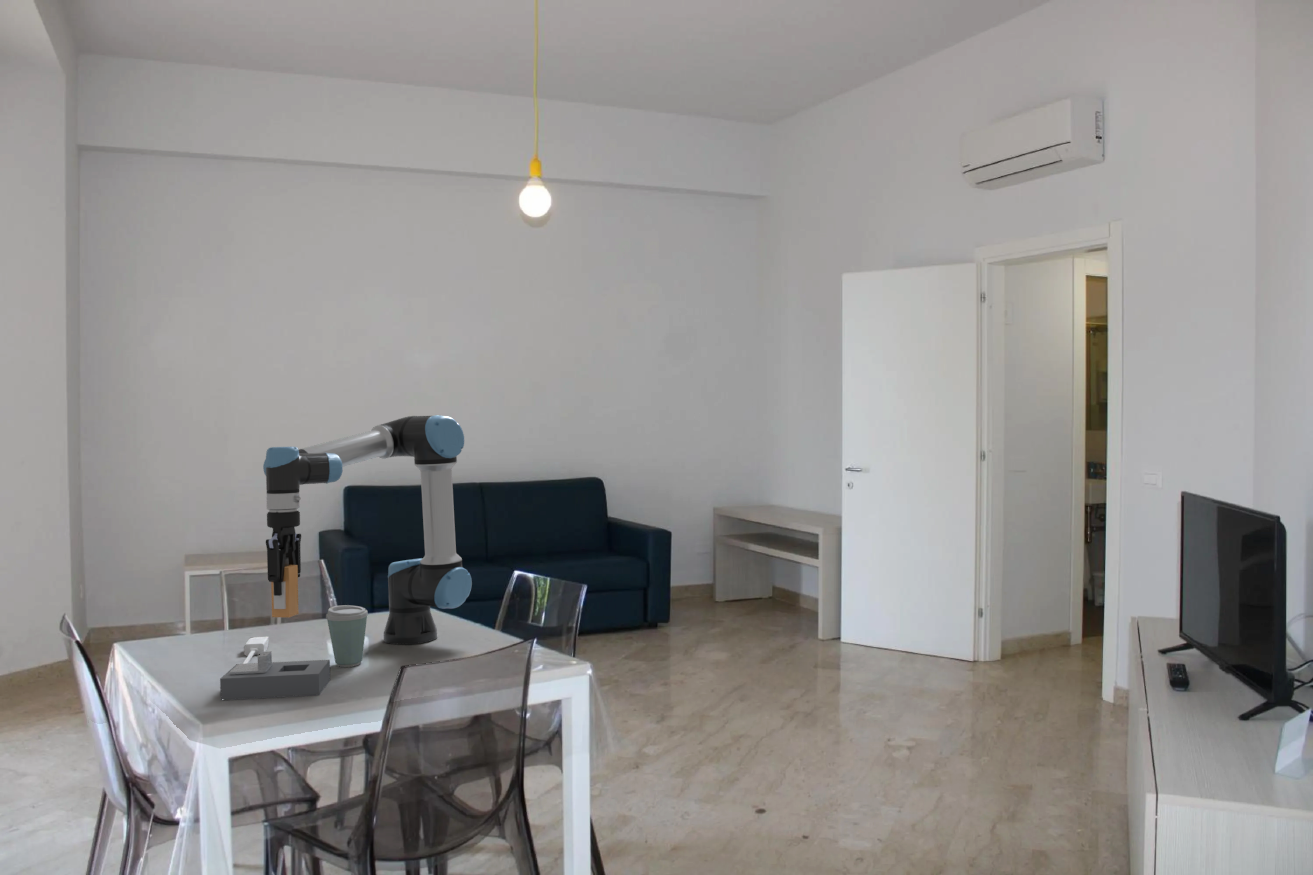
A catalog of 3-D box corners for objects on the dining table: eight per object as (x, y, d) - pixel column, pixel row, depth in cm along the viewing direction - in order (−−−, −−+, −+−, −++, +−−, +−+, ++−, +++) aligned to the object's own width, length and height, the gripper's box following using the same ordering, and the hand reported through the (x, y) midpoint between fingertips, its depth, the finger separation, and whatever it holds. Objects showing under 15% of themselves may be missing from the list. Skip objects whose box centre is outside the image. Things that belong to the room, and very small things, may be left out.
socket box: (330, 679, 255) (329, 659, 255) (319, 694, 241) (318, 673, 241) (237, 684, 252) (236, 663, 252) (220, 700, 238) (220, 678, 238)
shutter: (273, 664, 250) (272, 649, 250) (265, 672, 242) (264, 657, 242) (238, 666, 249) (238, 651, 249) (229, 674, 241) (229, 659, 241)
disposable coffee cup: (375, 659, 275) (373, 603, 275) (361, 669, 264) (359, 611, 264) (336, 659, 276) (334, 603, 275) (320, 669, 265) (319, 611, 265)
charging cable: (229, 679, 262) (229, 666, 262) (251, 646, 293) (251, 634, 293) (250, 677, 263) (250, 665, 263) (270, 644, 294) (269, 633, 294)
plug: (281, 613, 253) (279, 556, 252) (298, 613, 252) (297, 556, 252) (271, 617, 248) (270, 559, 248) (289, 617, 248) (288, 559, 247)
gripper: (280, 513, 240) (282, 613, 241) (314, 507, 258) (316, 600, 258) (250, 513, 241) (251, 613, 242) (286, 507, 259) (287, 600, 259)
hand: (285, 606), depth 250 cm, fingers closed on plug, 4 cm apart
